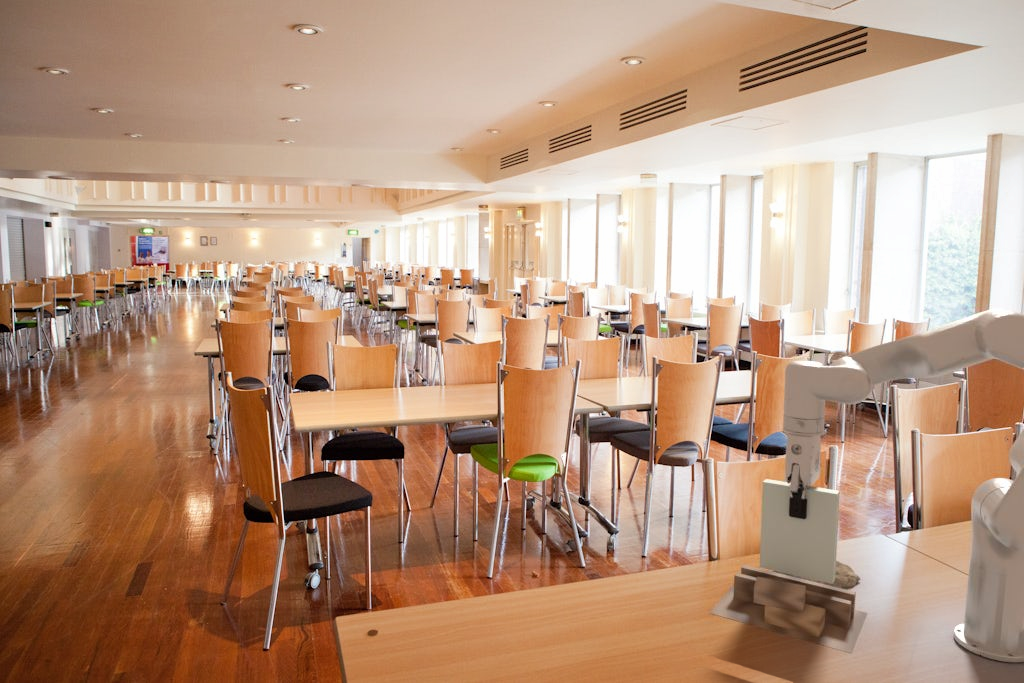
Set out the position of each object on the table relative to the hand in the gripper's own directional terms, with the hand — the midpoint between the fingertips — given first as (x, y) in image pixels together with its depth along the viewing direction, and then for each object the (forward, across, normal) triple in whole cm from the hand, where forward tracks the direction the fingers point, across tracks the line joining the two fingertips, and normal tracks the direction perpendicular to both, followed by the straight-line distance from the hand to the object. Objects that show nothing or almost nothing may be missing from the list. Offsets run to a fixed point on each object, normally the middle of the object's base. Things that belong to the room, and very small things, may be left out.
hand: (799, 514), depth 148 cm
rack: (+21, -3, +1) cm, 21 cm away
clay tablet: (+22, +17, +1) cm, 27 cm away
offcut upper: (+16, -7, +2) cm, 17 cm away
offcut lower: (+19, -7, -1) cm, 21 cm away
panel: (+12, 0, 0) cm, 12 cm away
